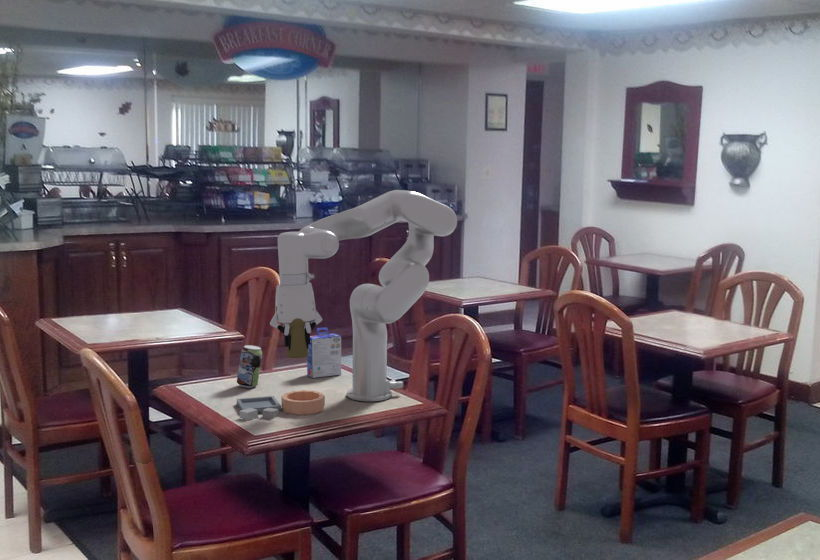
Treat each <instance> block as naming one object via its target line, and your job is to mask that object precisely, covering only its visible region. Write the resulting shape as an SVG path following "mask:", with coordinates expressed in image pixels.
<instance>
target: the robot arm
mask: <svg viewBox="0 0 820 560" xmlns="http://www.w3.org/2000/svg"><path fill="white" fill-rule="evenodd" d="M398 222H407V223H408V235H407V239H406V242H405V243H404V244H402V246H401V248H400V249H398V251H396V252H395V254H394V255H393V256H392V257H390V259H389V260H388V261H387V262H386V263H384V265H383V266H382V267H381V269H380V270H379V272H378V281H379V283H380V285H378V284H374V283H363V284H359V285H358V286H357V287H355V288H354V289H353V291H352V292H351V294H350V298H349V310H350V311H349V312H350V315H351V321H352V323H351V324H352V388H350V389H348V390H346V397H347V398H349V399H351V400H352V401H358V402H369V403H370V402H372V403H373V402H380V401H387V400H388V399H390V398H392V397H393V392H392V391H393V389H403V388H404V382H403V381H401V380H399V381H396V380H395V379H394V380H389V379H388V378H387V370H388V369H387V366H388V362H387V361H388V355H387V354H388V353H387V352H388V330H387V324H393V323H395V322H397V321H398V320H399V319H401V317H403V316H404V315H405V313H407V312H408V311H409V310H410V309H411V308H412V306H413V305H414V304H415V303H416V302H417V301H418V300H419V299H420V298H421V296H422V295H424V293H425V292H426V290H427V288H428V286H429V282H430V274H429V270H428V268H427V267H426V265H427V264H428V263H429V262H430V260H431V259H432V257H433V254H434V250H435V249H434V248H435V243H434V241H435V240H434V238H435V237H434V236H436V237H447V236H449V235H451V234H452V233H454V231H455V229H456V228H457V225H458V216H457V214H456V213H455V211H454V209H452V208H451V207H450V206H448V205H446V204H444V203H441V202H440V201H437V200H434V199H433V198H431V197H428V196H426V195H424V194H422V193H420V192H416V191H413V190H404V189H402V190H401V189H394V190H390V191H387V192H385V193H383V194H380V195H379V196H377V197H374V198H372V199H370V200H369V201H367V202H365V203H362V204H361V205H357V206H355V207H353V208H350V209H347V210H343V211H340V212H338V213H334V214H332V215H329V216H326V217H323V218H321V219H318V220H315V221H314V222H312V223H310V224H308V225H305V226H303V228H301V229H300V230H298V231H285V232H281V233H280V234H279V235H278V236H277V250H278V251H277V254H278V256H277V257H278V270H279V271H278V273H279V284H278V285H276V288H275V307H274V309H275V313H274V315H273V316H272V318H271V320H270V322H269V325H270V326H271V327H274V328H275V329H276V330H278V331H280V332H281V333H282V334H283V339H284V341H283V342H284V347H286V348H287V347H288V348H289V350H290V348H291V336H290V335H289V334H290V333H289V328H290V326H289V324H290V323H292V321H293V320H294V319H297V318H299V319H302V320H303V321H304V322H305V326H304V329H305V341H306V345H307V348H309V346H308V344H310V336H311V333H312V331H313V330H314V328H315V327H316V326H317V325H319V324H320V323H322V322H323V317H322V315H320V313H319V312H318V310H317V309H316V302H315V295H314V288H313V285H312V282H311V280H312V279H313V280H314V279H315V274H314V273H310V272H309V259H319V260H321V259H328V258H332V257H333V256H334V255H335V254H336V253H337V252H338V250H339V247H340V242H339V241H344V240H352V239H362V238H366V237H369V236H372V235H374V234H375V233H378V232H379V231H382V230H383V229H386V228H387V227H390V226H391V225H395V223H398ZM279 323H280V324H279ZM281 324H282V325H281Z"/></svg>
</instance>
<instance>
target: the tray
mask: <svg viewBox="0 0 820 560" xmlns="http://www.w3.org/2000/svg"><path fill="white" fill-rule="evenodd" d="M236 406H237V408H238V409H239V410H240V411H241V410H244V409H248V408H253V409H257V410H258V414H262V410H264V409H266V408H274V409H279V411H280V412H282V404H280V402H279V401H278V400H277V398H276V397H275V396H274V395H268V396H257V397H255V396H254V397H244V398H243V397H242V398H236ZM240 411H239V412H240Z"/></svg>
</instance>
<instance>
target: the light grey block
mask: <svg viewBox="0 0 820 560" xmlns="http://www.w3.org/2000/svg"><path fill="white" fill-rule="evenodd" d="M258 417H259V413H258V410H257V409H253V408H248V409H244V410H241V411H239V419H240V418H242V419H241V420H243V419H244V421H247V420H248V421H250V419H251V420H254V419H257V418H258ZM253 418H254V419H253Z"/></svg>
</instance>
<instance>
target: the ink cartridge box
mask: <svg viewBox="0 0 820 560" xmlns="http://www.w3.org/2000/svg"><path fill="white" fill-rule="evenodd" d="M320 331H322V332H320ZM308 346H309V348H308V351H309V356H307V357H306V375H307V376H308V377H310V378H312V379H314V378H315V379H316V378H322V377H323V378H324V377H330V376H341V375H342V336H341V335H339V334H337V333H329V328H328V327H327V326H325V327H316V335H310V344H308Z"/></svg>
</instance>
